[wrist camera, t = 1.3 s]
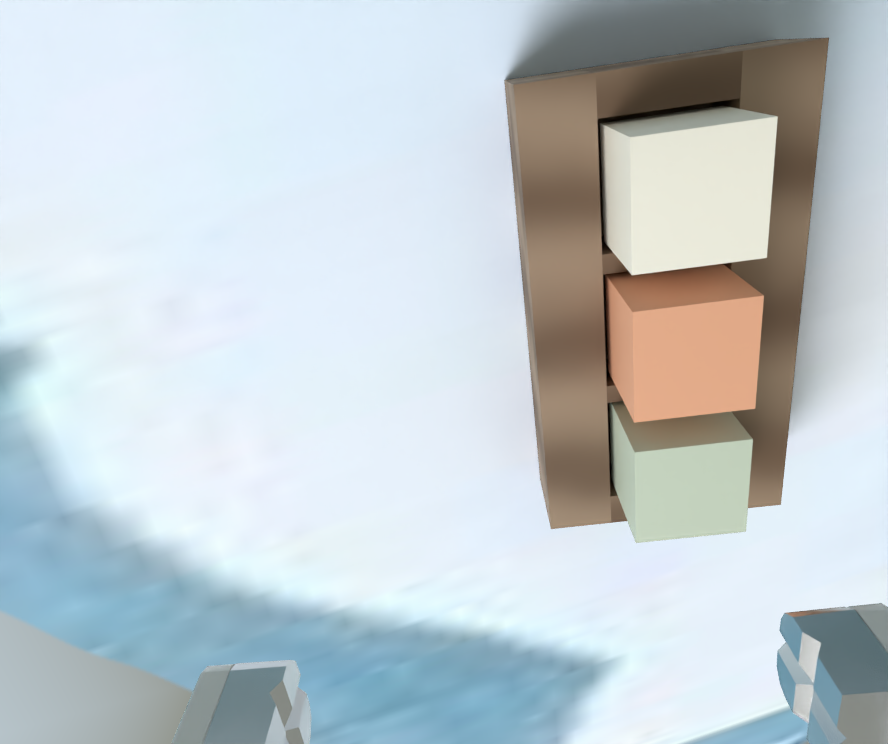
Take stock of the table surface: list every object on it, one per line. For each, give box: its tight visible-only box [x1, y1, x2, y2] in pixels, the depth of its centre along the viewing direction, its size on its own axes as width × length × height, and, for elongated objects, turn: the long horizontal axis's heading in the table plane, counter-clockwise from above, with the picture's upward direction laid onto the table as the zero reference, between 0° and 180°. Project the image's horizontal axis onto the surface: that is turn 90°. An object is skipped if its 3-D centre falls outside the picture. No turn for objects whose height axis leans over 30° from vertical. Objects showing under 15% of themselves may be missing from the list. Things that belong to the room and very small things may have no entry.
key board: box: [504, 38, 829, 529], centre depth 32 cm, size 22×12×4 cm, turn 8°
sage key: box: [609, 401, 753, 543], centre depth 32 cm, size 5×5×5 cm
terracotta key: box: [605, 264, 764, 423], centre depth 29 cm, size 5×5×5 cm
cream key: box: [600, 106, 778, 275], centre depth 26 cm, size 5×5×5 cm
